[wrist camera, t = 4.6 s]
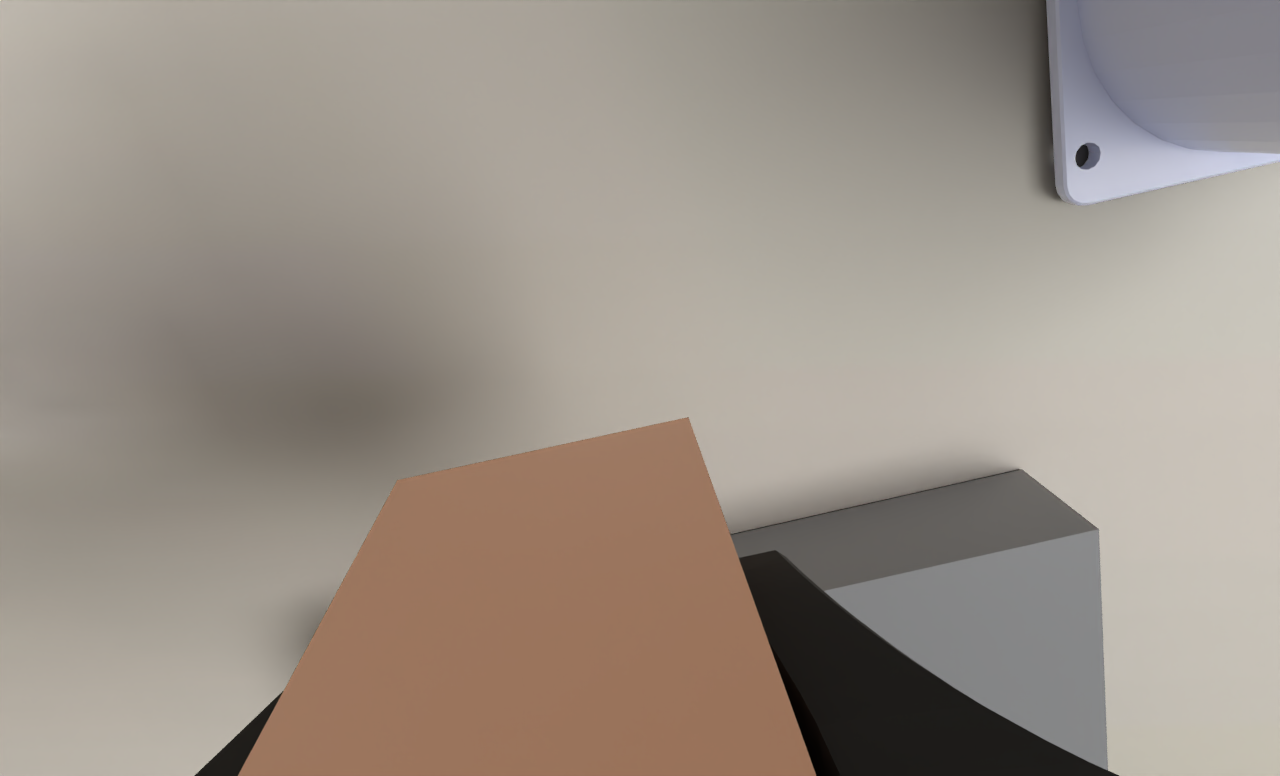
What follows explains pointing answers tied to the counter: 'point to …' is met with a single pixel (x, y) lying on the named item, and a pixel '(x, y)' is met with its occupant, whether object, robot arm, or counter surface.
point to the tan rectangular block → (543, 629)
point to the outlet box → (973, 595)
